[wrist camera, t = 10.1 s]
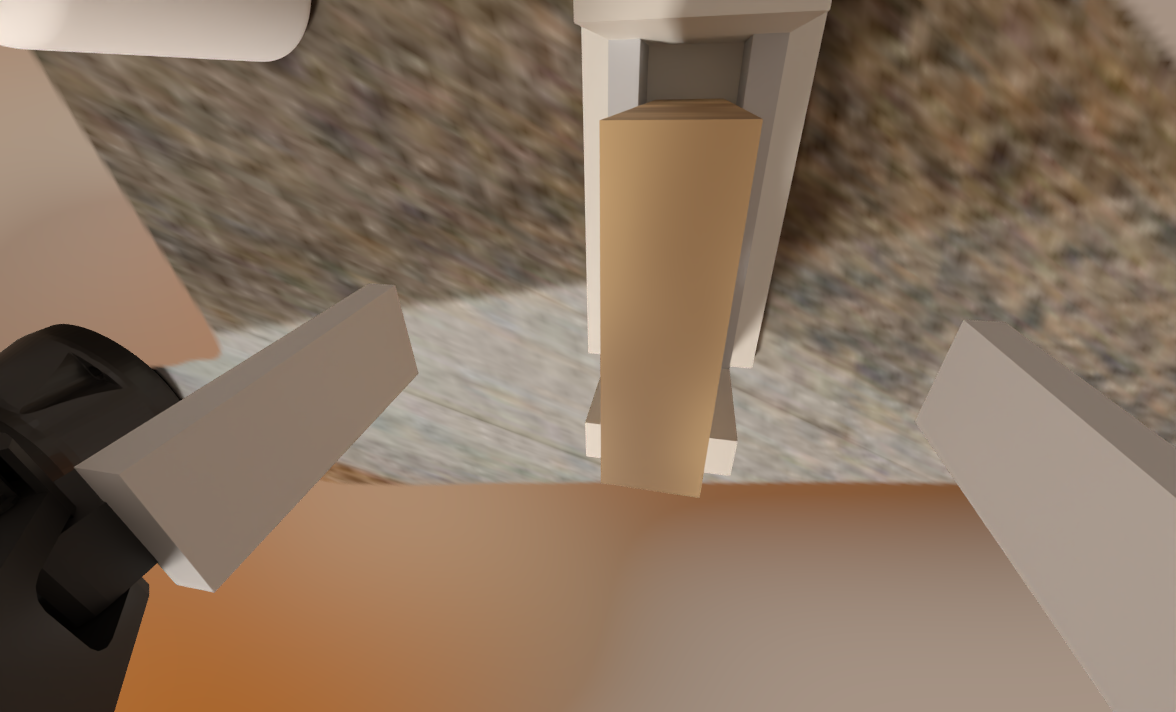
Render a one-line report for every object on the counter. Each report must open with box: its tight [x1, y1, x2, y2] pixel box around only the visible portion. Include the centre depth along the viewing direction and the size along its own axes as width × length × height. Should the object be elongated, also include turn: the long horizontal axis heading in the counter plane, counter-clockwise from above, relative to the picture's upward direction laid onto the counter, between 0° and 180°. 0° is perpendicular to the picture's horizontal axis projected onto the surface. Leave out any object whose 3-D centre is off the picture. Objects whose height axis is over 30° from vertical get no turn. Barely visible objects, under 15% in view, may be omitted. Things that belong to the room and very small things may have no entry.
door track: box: [573, 0, 832, 476], centre depth 19 cm, size 10×18×10 cm, turn 1°
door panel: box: [599, 99, 763, 498], centre depth 17 cm, size 3×10×14 cm, turn 1°
